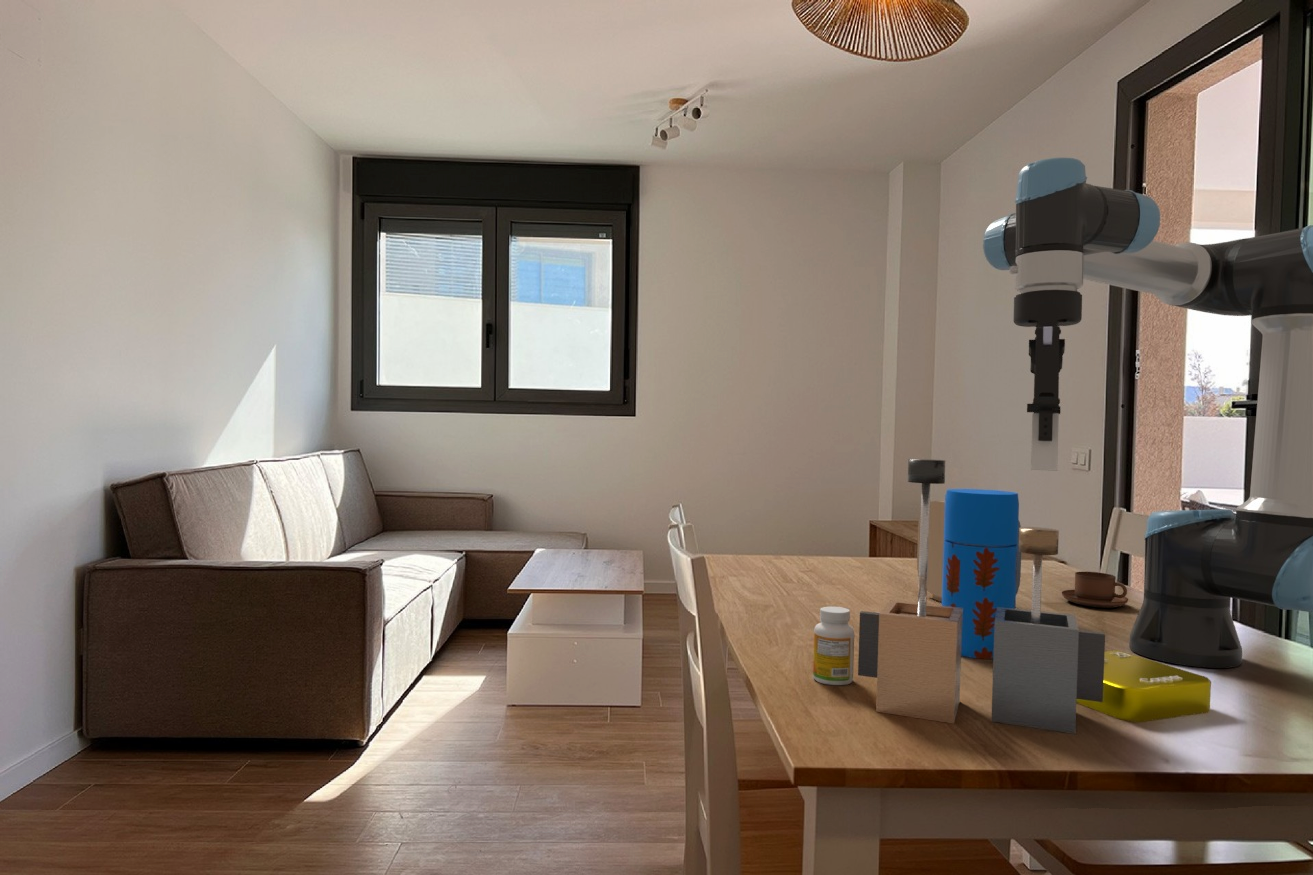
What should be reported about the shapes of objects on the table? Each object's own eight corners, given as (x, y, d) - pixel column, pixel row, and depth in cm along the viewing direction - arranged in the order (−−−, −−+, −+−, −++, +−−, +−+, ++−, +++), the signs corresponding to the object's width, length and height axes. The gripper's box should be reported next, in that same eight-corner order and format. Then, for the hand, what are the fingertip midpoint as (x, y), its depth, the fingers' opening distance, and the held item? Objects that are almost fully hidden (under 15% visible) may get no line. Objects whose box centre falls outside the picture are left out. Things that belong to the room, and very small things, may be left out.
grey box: (1098, 714, 106) (1102, 617, 106) (1104, 738, 98) (1108, 633, 98) (994, 699, 111) (997, 606, 111) (991, 721, 103) (994, 620, 102)
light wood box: (959, 701, 110) (962, 607, 110) (953, 723, 101) (957, 622, 101) (864, 687, 115) (867, 597, 114) (851, 707, 106) (854, 610, 106)
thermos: (1020, 661, 129) (1025, 495, 129) (945, 656, 131) (950, 492, 131) (1005, 643, 140) (1011, 490, 139) (936, 638, 142) (941, 487, 142)
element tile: (1130, 726, 103) (1131, 686, 103) (1034, 688, 117) (1035, 653, 117) (1217, 713, 109) (1219, 676, 109) (1115, 679, 123) (1117, 645, 123)
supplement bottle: (824, 671, 121) (826, 603, 121) (859, 679, 118) (862, 609, 118) (805, 680, 117) (807, 609, 117) (841, 688, 114) (843, 615, 114)
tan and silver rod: (1059, 696, 107) (1065, 528, 106) (1060, 710, 101) (1067, 533, 101) (1007, 689, 109) (1012, 525, 108) (1005, 702, 103) (1011, 530, 103)
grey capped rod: (948, 624, 109) (954, 460, 108) (944, 634, 103) (950, 461, 103) (899, 619, 111) (905, 458, 111) (893, 628, 106) (898, 459, 105)
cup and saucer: (1129, 604, 176) (1130, 574, 176) (1125, 614, 166) (1126, 582, 166) (1065, 596, 183) (1066, 567, 183) (1057, 605, 173) (1058, 575, 172)
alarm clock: (1020, 614, 163) (1024, 500, 162) (977, 616, 160) (981, 500, 160) (955, 592, 182) (959, 491, 182) (915, 594, 180) (919, 490, 179)
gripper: (1015, 306, 117) (1011, 462, 117) (1012, 277, 94) (1007, 471, 95) (1077, 303, 114) (1072, 463, 115) (1088, 274, 91) (1083, 474, 92)
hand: (1043, 467), depth 105 cm, fingers open, 13 cm apart
